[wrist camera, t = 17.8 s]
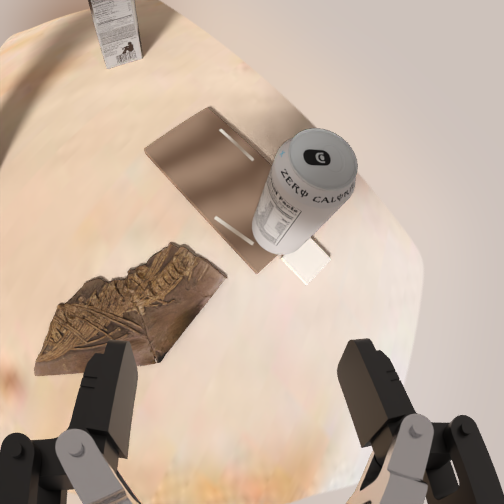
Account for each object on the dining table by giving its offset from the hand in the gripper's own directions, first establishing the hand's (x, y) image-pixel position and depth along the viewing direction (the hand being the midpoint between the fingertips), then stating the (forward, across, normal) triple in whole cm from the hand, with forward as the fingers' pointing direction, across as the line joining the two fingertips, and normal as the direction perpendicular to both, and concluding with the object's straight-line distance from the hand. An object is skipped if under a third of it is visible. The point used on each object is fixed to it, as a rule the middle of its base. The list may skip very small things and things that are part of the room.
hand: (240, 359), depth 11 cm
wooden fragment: (+16, +11, +15) cm, 24 cm away
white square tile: (+21, -9, +9) cm, 25 cm away
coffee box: (+46, +18, -15) cm, 52 cm away
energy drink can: (+22, -6, +6) cm, 24 cm away
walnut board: (+27, -1, +3) cm, 27 cm away
